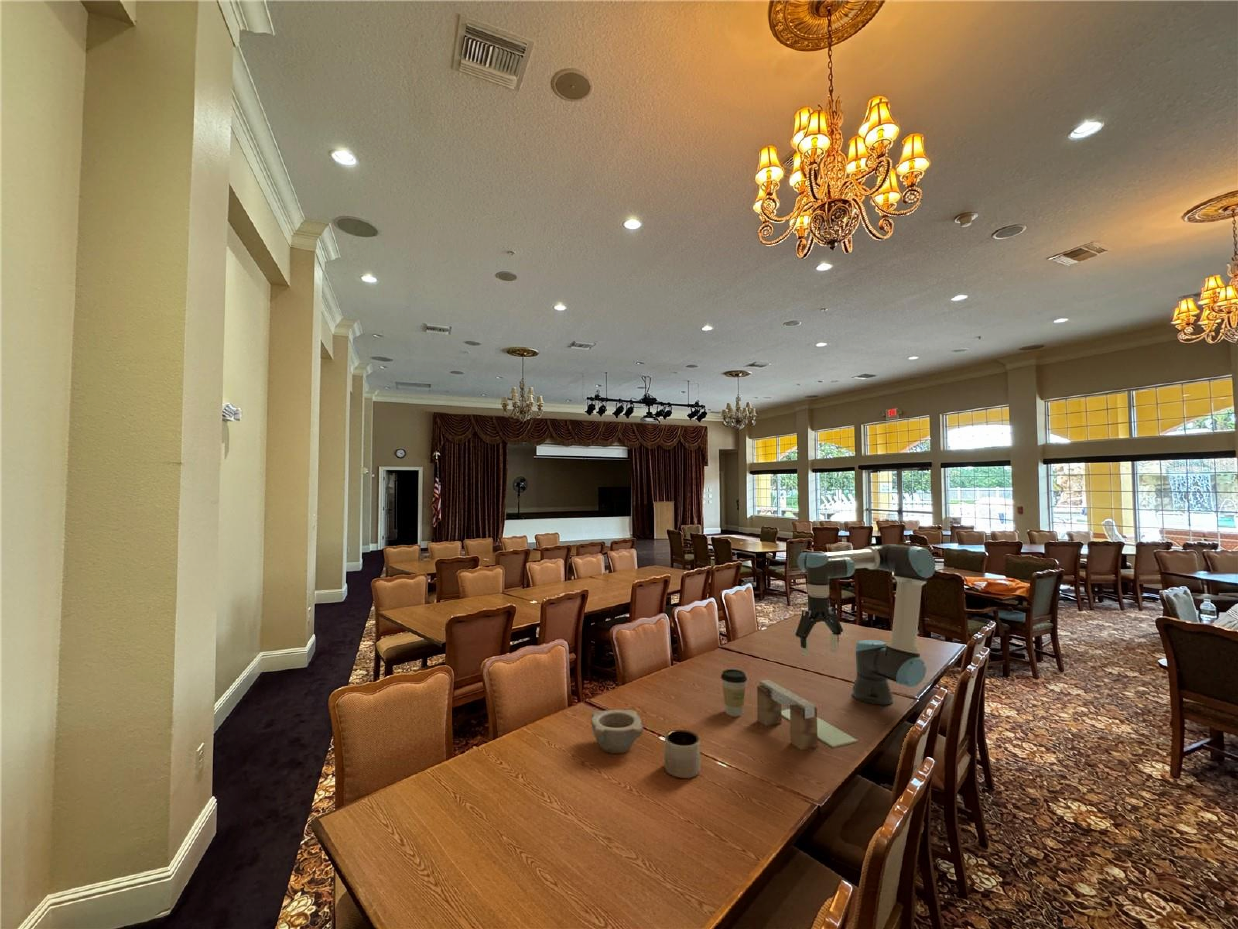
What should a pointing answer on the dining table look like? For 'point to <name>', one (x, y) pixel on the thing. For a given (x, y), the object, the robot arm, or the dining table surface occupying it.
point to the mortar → (616, 729)
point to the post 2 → (803, 729)
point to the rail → (788, 698)
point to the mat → (827, 732)
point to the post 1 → (767, 708)
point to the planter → (682, 753)
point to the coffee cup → (734, 691)
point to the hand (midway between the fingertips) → (820, 654)
